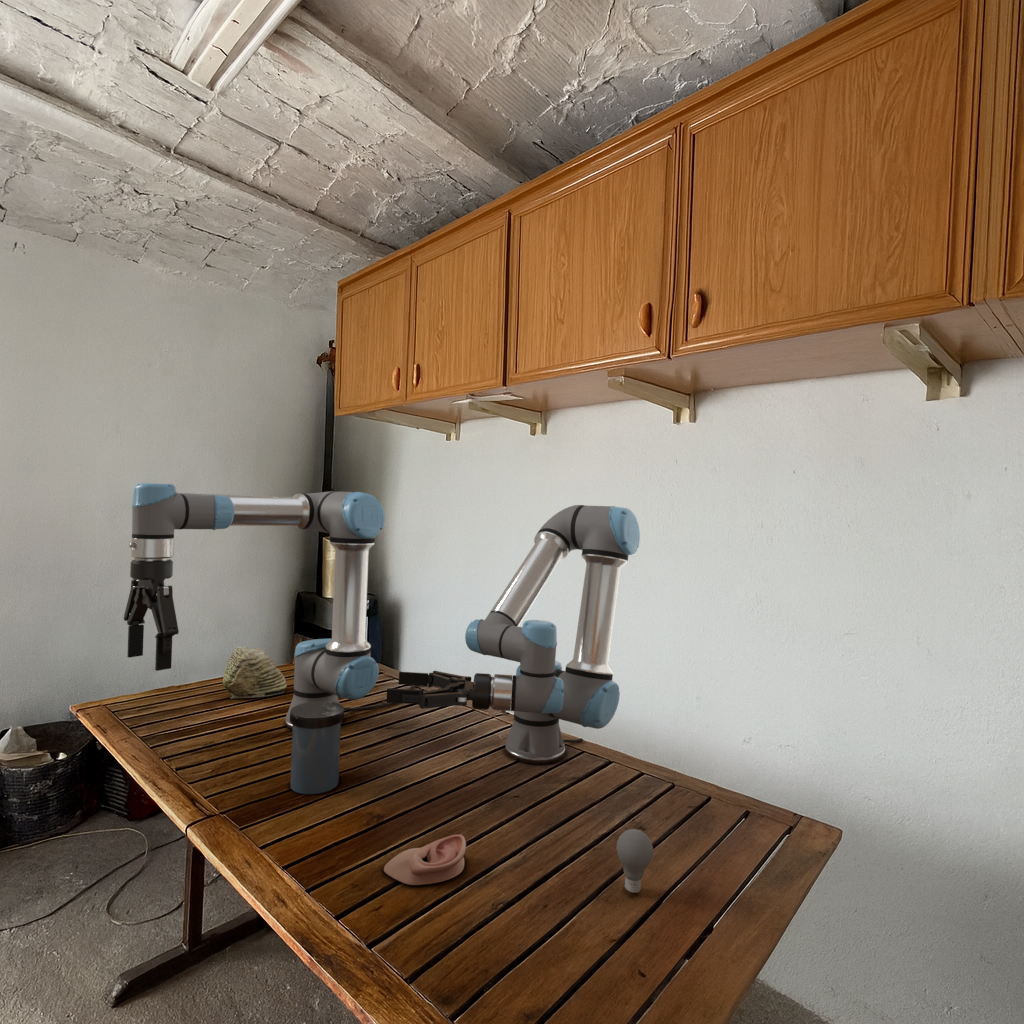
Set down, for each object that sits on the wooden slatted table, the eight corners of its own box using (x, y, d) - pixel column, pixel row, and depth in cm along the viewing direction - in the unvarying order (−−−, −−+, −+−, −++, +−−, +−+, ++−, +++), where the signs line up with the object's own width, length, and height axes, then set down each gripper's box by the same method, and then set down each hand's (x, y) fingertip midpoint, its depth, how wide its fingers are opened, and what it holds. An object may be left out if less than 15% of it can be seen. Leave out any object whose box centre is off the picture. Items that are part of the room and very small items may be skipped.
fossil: (218, 695, 195) (220, 647, 195) (278, 685, 208) (279, 640, 207) (228, 703, 189) (230, 653, 188) (289, 692, 201) (290, 645, 201)
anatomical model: (377, 856, 105) (402, 822, 117) (376, 879, 106) (401, 843, 117) (453, 868, 103) (472, 833, 114) (452, 892, 103) (471, 854, 114)
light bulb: (610, 879, 108) (613, 822, 108) (644, 879, 109) (647, 822, 109) (619, 902, 102) (622, 840, 102) (655, 901, 103) (658, 840, 103)
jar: (320, 769, 147) (322, 700, 147) (348, 783, 141) (351, 711, 140) (280, 784, 139) (283, 711, 138) (308, 799, 133) (311, 722, 132)
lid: (323, 707, 147) (323, 697, 147) (354, 719, 141) (354, 709, 140) (279, 719, 138) (279, 709, 138) (310, 732, 132) (310, 722, 131)
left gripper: (108, 554, 134) (104, 654, 134) (159, 565, 118) (155, 678, 119) (146, 552, 140) (143, 648, 140) (199, 563, 124) (195, 671, 124)
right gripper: (488, 729, 124) (380, 722, 124) (492, 692, 149) (402, 687, 149) (490, 690, 124) (382, 684, 124) (494, 661, 149) (404, 655, 149)
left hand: (148, 662), depth 129 cm, fingers open, 13 cm apart
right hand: (393, 686), depth 137 cm, fingers open, 13 cm apart
